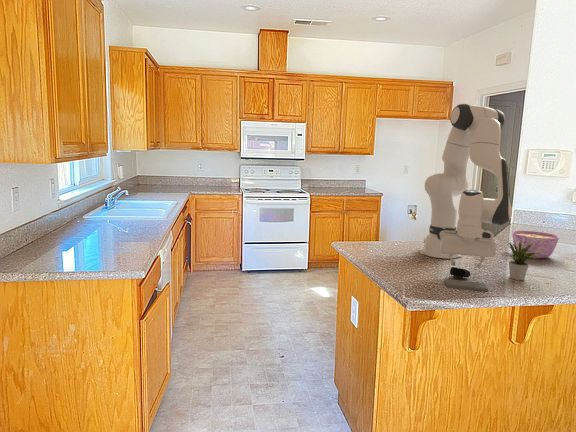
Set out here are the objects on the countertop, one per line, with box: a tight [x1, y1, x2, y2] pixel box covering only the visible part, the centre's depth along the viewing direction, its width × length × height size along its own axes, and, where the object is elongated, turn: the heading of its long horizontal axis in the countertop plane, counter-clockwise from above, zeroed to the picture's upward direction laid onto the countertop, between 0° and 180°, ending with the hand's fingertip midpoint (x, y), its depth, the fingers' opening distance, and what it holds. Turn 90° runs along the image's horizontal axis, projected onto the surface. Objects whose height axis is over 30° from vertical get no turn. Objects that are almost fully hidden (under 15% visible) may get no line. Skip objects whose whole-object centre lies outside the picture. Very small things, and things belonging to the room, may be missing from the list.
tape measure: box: [449, 266, 472, 279], centre depth 168 cm, size 7×7×4 cm
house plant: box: [499, 239, 537, 281], centre depth 170 cm, size 14×14×16 cm
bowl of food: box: [511, 230, 560, 259], centre depth 208 cm, size 20×20×12 cm
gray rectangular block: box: [444, 278, 489, 292], centre depth 158 cm, size 8×14×1 cm, turn 75°
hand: (465, 266), depth 169 cm, fingers open, 8 cm apart
